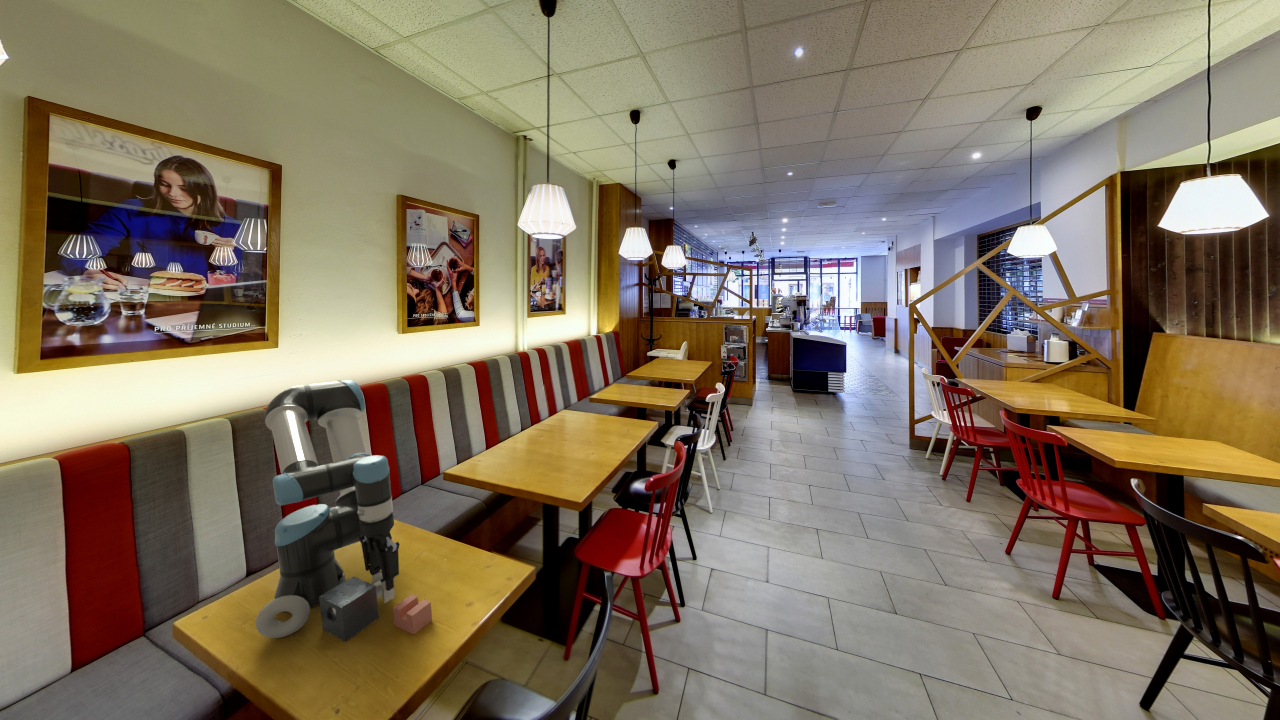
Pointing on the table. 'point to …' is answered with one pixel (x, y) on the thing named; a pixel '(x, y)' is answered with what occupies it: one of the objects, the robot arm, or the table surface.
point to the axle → (378, 589)
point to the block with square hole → (349, 608)
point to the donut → (282, 628)
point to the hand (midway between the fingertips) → (384, 597)
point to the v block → (412, 614)
